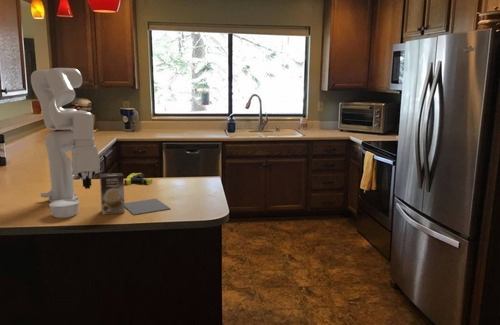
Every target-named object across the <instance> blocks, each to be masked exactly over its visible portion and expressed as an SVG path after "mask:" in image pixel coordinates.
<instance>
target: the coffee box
mask: <svg viewBox="0 0 500 325" xmlns="http://www.w3.org/2000/svg"><path fill="white" fill-rule="evenodd" d="M124 181H125V179H124V174H123V173H122V172H115V173H99V183H100V184H99V185H100V208H101V210H100V212H101V213H102V214H101V215H114V214H122V213H126V210H125V209H126V208H125V204H124V203H125V187H124V186H125V184H124Z"/></svg>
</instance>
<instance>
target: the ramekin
mask: <svg viewBox="0 0 500 325" xmlns="http://www.w3.org/2000/svg"><path fill="white" fill-rule="evenodd" d="M79 205H80V201H79V200H77V199H76V200H73V199H64V200H57V201H54V202H50V203H49V204H48V207H49V209H50V212H51V215H52V216H53V217H54V218H56V219H66V218H72V217H74V216H76V215H77V214H78V212H79Z"/></svg>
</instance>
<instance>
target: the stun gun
mask: <svg viewBox="0 0 500 325" xmlns="http://www.w3.org/2000/svg"><path fill="white" fill-rule="evenodd" d="M132 184H137V185H151V184H153V179H152V178H145V174H144V173H142V172H138V173H135V172H132V173H130V174H129V175H128V176H127V177H126V178H125V179H124V186H125V185H126V186H129V185H132Z"/></svg>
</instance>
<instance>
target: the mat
mask: <svg viewBox="0 0 500 325" xmlns="http://www.w3.org/2000/svg"><path fill="white" fill-rule="evenodd" d="M124 204H125V209H126V210H127V211H129V212H130V214H132V215H133V216H137V215H142V214H150V213H155V212H162V211H163V212H164V211H168V210H171V208H170V207H169V206H168V205H166V204H165V203H163V202H162V201H161V200H159V199H157V198H150V199H143V200H137V201H129V202H124Z"/></svg>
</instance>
